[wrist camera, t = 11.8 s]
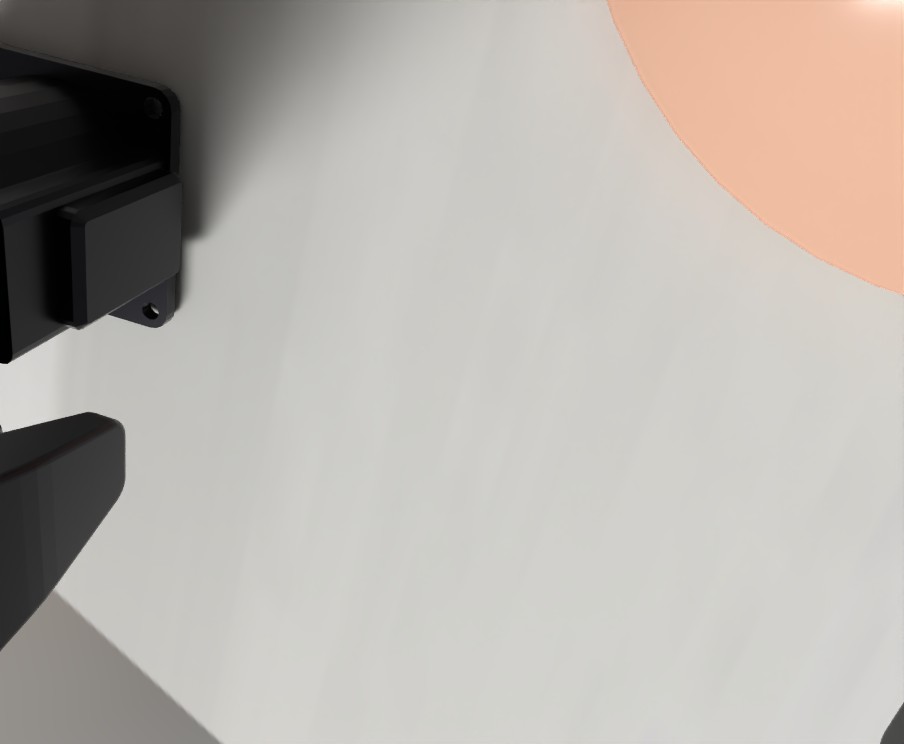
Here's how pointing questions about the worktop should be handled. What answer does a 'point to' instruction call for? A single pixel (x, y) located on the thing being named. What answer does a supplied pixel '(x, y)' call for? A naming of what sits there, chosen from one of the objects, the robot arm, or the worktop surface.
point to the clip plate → (789, 114)
